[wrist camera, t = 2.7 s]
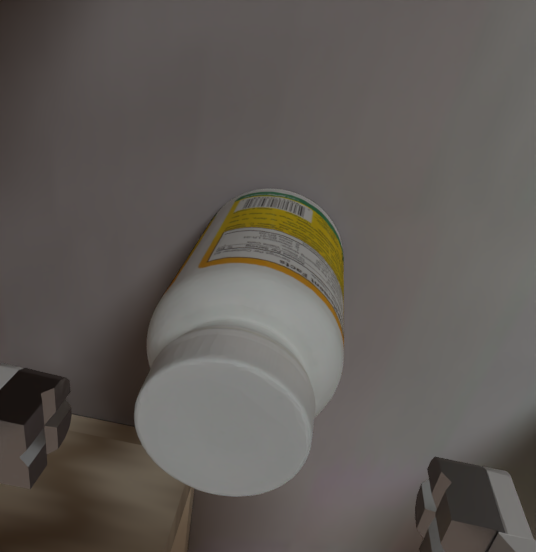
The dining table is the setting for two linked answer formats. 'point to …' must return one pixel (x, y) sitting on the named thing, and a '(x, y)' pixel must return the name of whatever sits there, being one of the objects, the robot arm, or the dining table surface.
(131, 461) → the cleat board
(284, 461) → the supplement bottle
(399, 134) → the dining table surface
